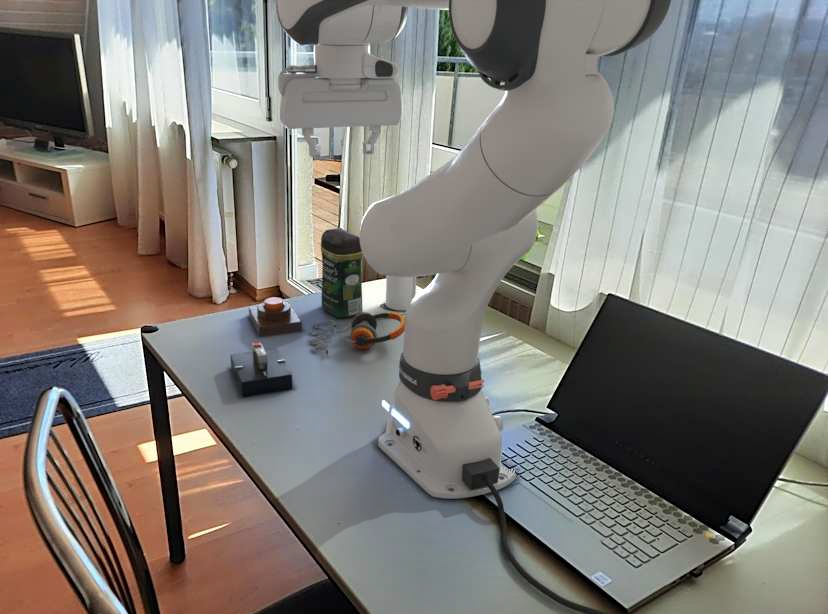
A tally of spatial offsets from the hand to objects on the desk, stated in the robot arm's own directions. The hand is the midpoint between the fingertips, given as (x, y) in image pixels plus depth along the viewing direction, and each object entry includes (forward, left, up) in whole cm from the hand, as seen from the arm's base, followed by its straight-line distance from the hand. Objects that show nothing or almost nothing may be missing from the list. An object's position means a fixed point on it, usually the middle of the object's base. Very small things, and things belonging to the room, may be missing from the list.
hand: (341, 154), depth 109 cm
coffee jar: (+22, -8, -39) cm, 45 cm away
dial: (-3, +16, -36) cm, 39 cm away
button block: (+20, +8, -39) cm, 45 cm away
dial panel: (-3, +16, -39) cm, 42 cm away
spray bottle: (+21, -22, -39) cm, 49 cm away
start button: (+20, +8, -35) cm, 41 cm away
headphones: (+6, -6, -39) cm, 40 cm away
